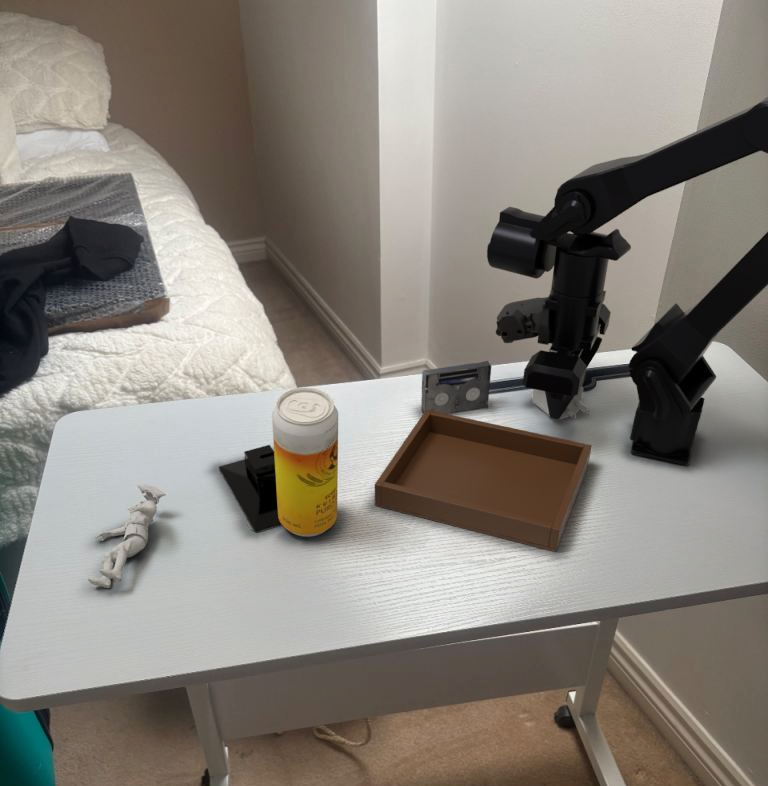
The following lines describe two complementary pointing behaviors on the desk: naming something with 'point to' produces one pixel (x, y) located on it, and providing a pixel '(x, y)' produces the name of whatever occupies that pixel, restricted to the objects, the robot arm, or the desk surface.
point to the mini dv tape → (456, 388)
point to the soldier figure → (129, 536)
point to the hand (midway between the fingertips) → (560, 406)
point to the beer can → (306, 460)
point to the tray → (485, 478)
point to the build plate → (255, 487)
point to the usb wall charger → (571, 410)
